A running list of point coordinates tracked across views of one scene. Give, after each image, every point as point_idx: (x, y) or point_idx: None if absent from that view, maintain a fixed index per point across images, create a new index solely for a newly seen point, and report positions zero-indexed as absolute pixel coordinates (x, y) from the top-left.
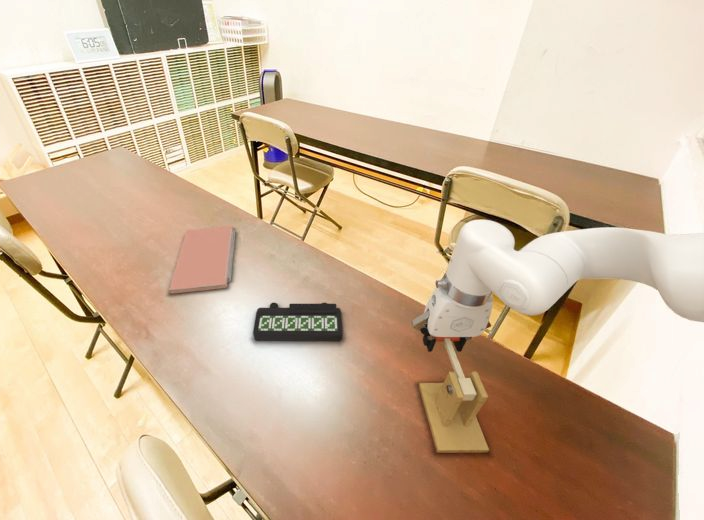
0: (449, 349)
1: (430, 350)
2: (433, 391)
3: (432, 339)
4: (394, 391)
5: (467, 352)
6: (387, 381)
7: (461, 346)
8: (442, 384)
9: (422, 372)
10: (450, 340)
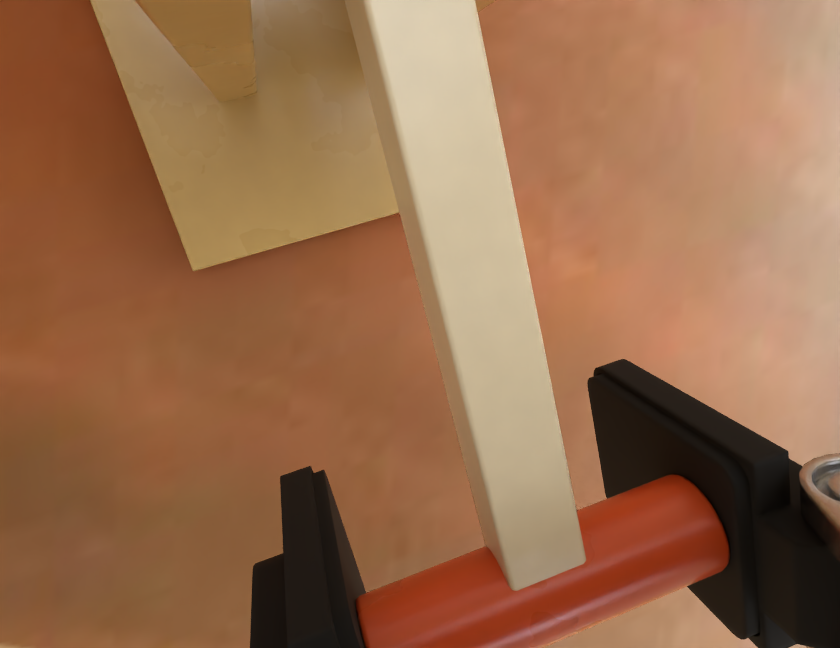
0: (545, 408)
1: (629, 370)
2: None
3: (812, 476)
4: (638, 102)
5: (146, 530)
6: (673, 160)
7: (313, 533)
8: (347, 214)
9: None
10: (509, 563)
